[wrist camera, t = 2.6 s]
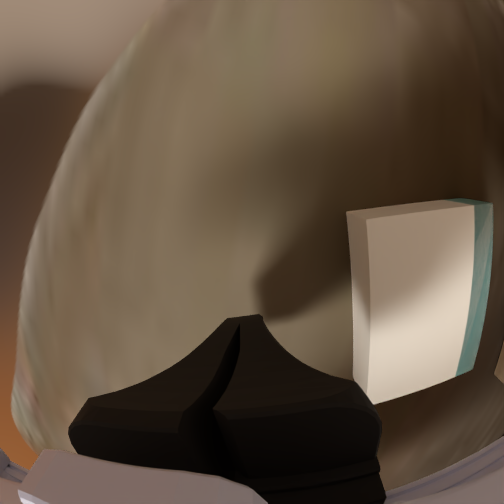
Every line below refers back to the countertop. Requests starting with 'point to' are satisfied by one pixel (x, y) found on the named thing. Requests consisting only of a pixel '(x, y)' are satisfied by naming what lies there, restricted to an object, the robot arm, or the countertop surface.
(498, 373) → the tan rectangular block
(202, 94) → the countertop surface
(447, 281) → the white block
